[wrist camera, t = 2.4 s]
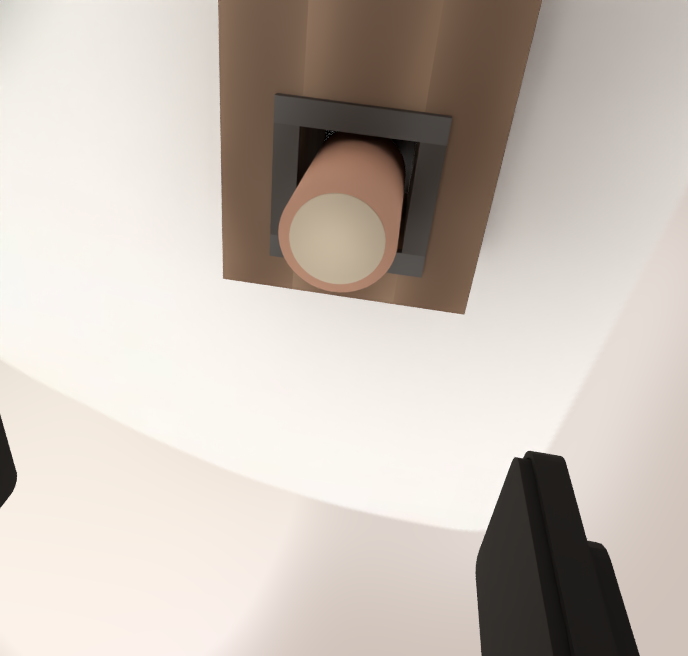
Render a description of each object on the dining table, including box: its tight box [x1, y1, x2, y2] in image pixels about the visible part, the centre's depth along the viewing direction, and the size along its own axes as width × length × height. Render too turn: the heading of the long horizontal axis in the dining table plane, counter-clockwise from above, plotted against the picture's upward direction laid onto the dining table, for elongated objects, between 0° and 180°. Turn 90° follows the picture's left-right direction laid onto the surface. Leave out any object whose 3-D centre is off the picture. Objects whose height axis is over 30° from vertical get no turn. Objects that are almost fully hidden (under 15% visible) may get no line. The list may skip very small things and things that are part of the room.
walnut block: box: [218, 0, 542, 314], centre depth 23 cm, size 11×22×7 cm, turn 174°
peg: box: [278, 131, 406, 292], centre depth 22 cm, size 4×4×7 cm
